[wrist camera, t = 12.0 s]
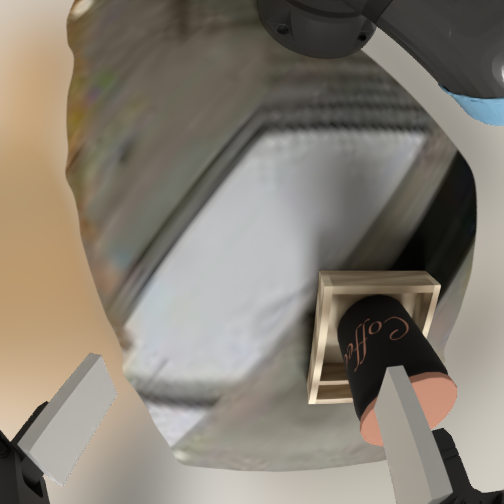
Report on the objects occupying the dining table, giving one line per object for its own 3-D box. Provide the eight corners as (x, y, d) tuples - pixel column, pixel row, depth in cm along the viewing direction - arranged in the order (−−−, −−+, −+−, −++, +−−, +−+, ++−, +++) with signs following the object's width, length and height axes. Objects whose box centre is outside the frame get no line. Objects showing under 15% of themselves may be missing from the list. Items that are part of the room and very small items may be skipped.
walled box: (319, 270, 37) (324, 286, 33) (425, 270, 36) (440, 285, 31) (306, 382, 44) (308, 404, 39) (395, 377, 42) (404, 396, 37)
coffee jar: (387, 276, 36) (448, 357, 19) (413, 327, 38) (463, 410, 21) (321, 318, 39) (342, 418, 22) (355, 363, 41) (380, 456, 24)
